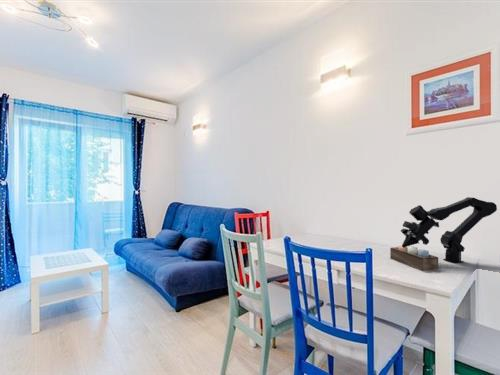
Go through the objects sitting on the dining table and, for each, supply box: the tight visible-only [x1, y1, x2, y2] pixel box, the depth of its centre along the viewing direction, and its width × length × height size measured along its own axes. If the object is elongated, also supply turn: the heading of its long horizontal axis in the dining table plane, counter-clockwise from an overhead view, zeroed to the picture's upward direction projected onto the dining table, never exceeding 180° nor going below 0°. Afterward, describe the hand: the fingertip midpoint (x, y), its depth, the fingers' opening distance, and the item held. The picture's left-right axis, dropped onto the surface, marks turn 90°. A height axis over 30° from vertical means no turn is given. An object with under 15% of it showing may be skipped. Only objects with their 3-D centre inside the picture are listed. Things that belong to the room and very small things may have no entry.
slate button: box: [418, 249, 430, 257], centre depth 130 cm, size 4×4×5 cm
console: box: [389, 246, 439, 271], centre depth 137 cm, size 9×22×6 cm, turn 9°
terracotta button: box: [397, 245, 408, 250], centre depth 144 cm, size 4×4×5 cm
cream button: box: [407, 246, 419, 254], centre depth 137 cm, size 4×4×5 cm
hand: (402, 246), depth 144 cm, fingers closed, pressing on terracotta button
